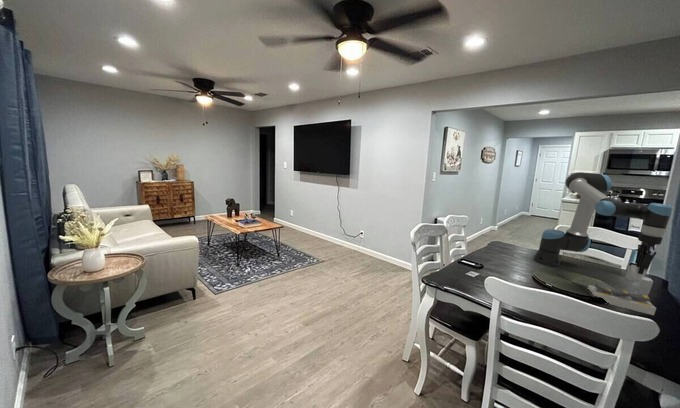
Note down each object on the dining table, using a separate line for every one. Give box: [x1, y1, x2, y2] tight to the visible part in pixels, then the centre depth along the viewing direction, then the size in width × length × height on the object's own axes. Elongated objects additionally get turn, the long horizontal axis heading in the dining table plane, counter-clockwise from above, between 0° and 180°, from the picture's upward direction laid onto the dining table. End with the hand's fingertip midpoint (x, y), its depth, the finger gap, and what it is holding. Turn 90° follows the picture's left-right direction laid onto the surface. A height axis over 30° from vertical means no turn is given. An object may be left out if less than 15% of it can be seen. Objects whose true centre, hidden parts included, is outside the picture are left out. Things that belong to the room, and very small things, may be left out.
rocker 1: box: [594, 283, 612, 295], centre depth 146 cm, size 6×4×2 cm, turn 62°
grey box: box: [624, 264, 646, 283], centre depth 172 cm, size 4×7×10 cm, turn 67°
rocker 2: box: [610, 288, 631, 297], centre depth 142 cm, size 6×4×2 cm, turn 61°
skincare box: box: [633, 276, 654, 297], centre depth 148 cm, size 6×4×12 cm
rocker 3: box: [629, 293, 651, 303], centre depth 139 cm, size 6×4×2 cm, turn 61°
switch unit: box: [587, 284, 657, 316], centre depth 143 cm, size 23×11×4 cm, turn 61°
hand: (637, 278), depth 138 cm, fingers closed
